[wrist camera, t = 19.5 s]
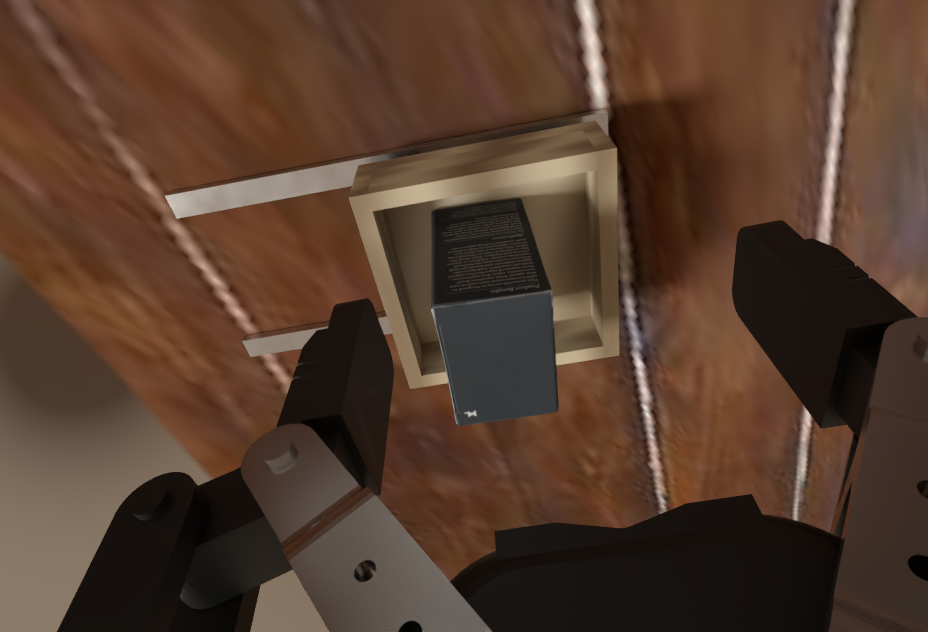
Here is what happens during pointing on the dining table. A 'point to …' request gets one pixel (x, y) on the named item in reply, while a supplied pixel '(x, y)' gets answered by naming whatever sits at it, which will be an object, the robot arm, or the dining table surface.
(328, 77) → the dining table surface
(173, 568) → the robot arm
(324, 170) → the rails
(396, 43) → the dining table surface
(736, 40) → the dining table surface
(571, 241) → the light wooden open box
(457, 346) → the box
